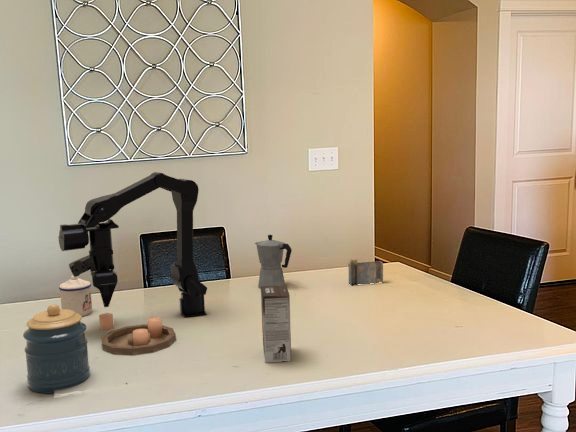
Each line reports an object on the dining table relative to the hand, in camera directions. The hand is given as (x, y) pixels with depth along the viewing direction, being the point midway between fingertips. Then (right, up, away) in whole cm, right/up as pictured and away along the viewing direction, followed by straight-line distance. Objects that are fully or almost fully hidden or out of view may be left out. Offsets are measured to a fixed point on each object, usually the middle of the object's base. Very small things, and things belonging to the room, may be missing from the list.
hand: (105, 302), depth 171 cm
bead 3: (+15, -8, -7) cm, 18 cm away
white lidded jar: (-14, -6, +20) cm, 25 cm away
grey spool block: (+76, 0, +43) cm, 87 cm away
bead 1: (0, -8, +1) cm, 8 cm away
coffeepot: (+45, -1, +42) cm, 61 cm away
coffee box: (+47, -10, -20) cm, 52 cm away
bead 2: (+13, -9, -16) cm, 23 cm away
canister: (-1, -13, -33) cm, 35 cm away
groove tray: (+12, -9, -11) cm, 18 cm away
